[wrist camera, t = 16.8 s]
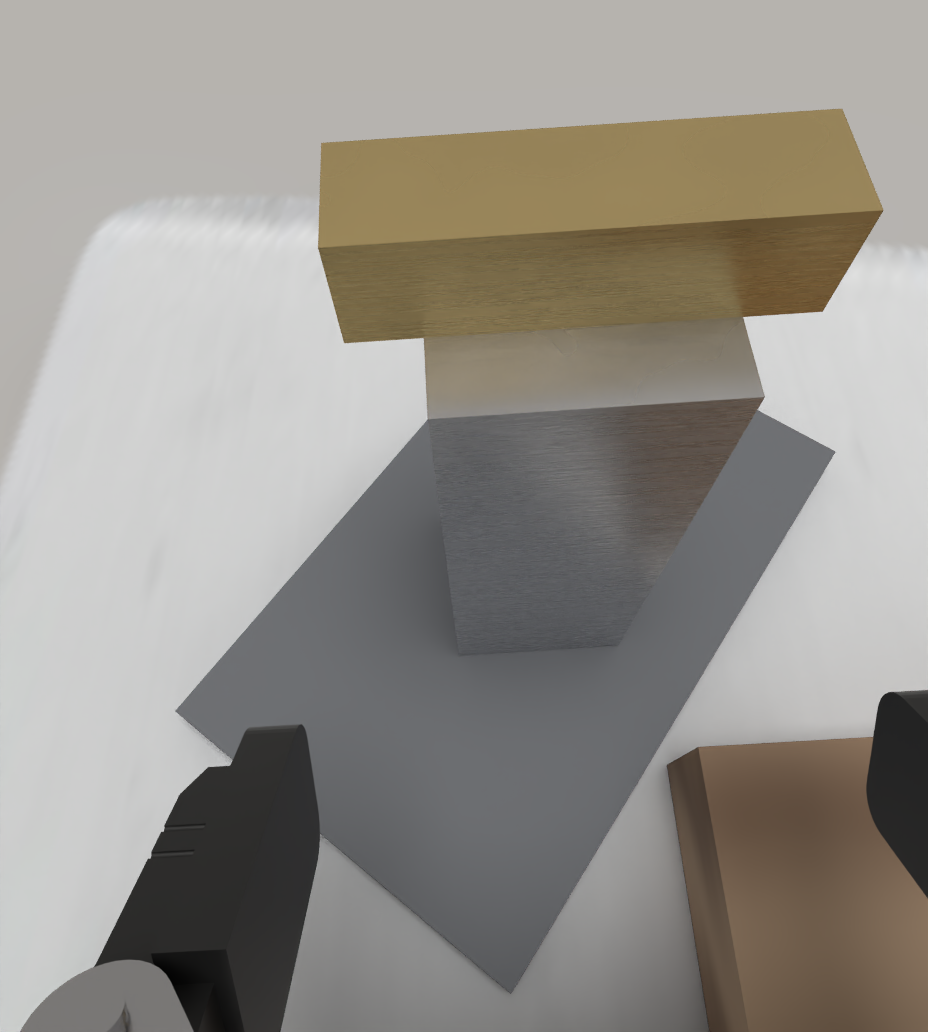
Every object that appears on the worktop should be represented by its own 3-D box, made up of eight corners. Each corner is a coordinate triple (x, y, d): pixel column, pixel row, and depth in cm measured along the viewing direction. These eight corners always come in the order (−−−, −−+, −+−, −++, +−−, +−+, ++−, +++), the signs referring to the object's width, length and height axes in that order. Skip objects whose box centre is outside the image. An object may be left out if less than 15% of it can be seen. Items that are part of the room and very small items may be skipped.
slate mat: (535, 310, 24) (537, 293, 24) (823, 465, 22) (835, 451, 21) (186, 717, 19) (175, 711, 18) (510, 988, 16) (511, 993, 16)
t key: (419, 659, 19) (314, 338, 7) (414, 514, 21) (323, 74, 9) (657, 643, 19) (919, 299, 7) (632, 500, 21) (815, 42, 9)
